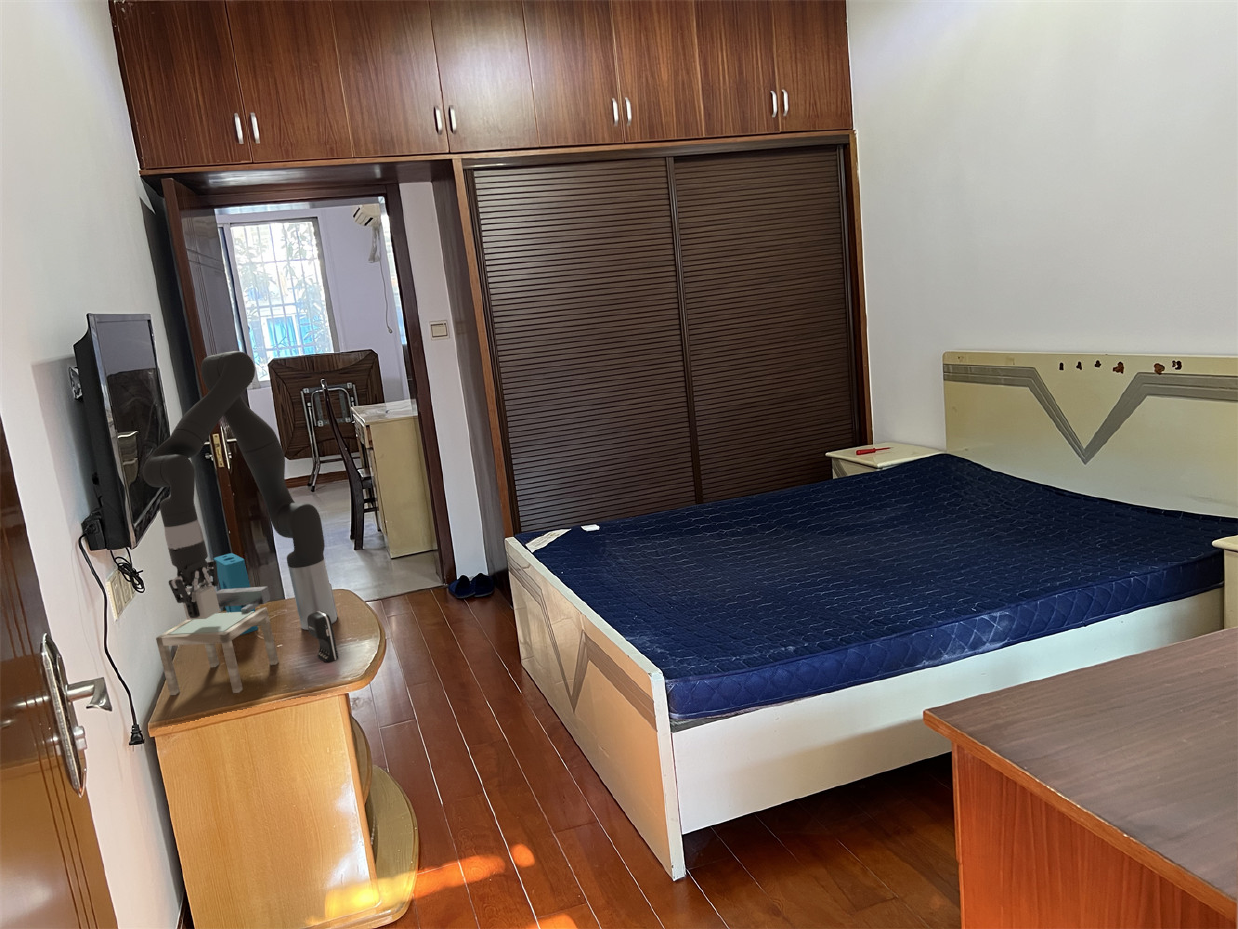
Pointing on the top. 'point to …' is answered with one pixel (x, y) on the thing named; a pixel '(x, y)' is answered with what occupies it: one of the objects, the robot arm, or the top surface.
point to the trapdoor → (227, 620)
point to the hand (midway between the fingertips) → (202, 612)
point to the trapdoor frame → (210, 640)
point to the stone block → (205, 602)
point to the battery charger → (323, 635)
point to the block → (233, 578)
